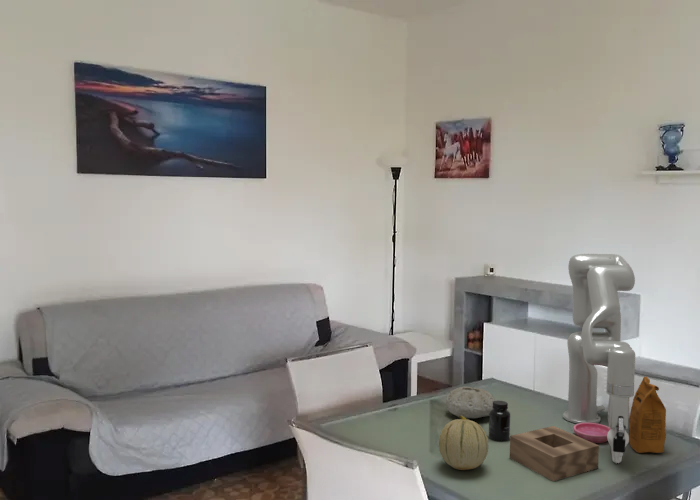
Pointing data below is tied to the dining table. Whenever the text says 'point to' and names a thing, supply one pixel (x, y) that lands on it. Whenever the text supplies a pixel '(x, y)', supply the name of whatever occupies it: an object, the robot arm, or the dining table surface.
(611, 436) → the lightbulb
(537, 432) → the socket block
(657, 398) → the coffee package
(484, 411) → the grey rounded lump
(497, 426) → the supplement bottle
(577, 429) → the saucer
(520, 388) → the dining table surface
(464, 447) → the cantaloupe
